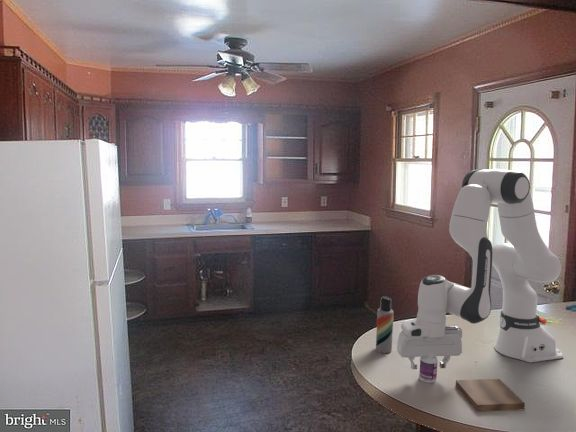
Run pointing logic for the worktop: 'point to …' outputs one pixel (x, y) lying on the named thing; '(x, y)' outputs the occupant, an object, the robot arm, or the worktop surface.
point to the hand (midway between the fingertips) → (428, 368)
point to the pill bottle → (428, 368)
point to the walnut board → (489, 395)
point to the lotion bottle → (384, 326)
